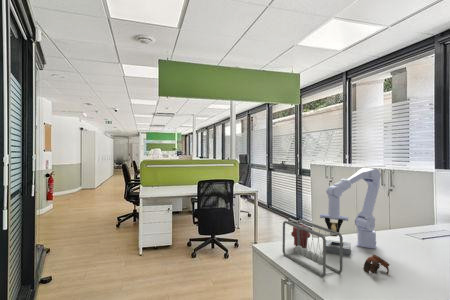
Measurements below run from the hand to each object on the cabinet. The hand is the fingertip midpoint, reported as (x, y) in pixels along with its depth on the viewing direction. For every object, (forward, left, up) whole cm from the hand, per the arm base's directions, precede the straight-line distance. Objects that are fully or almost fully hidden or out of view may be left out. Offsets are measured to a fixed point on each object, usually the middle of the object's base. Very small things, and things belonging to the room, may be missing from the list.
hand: (333, 232), depth 154 cm
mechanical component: (+16, +8, -9) cm, 20 cm away
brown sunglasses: (-19, +25, -9) cm, 33 cm away
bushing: (0, 0, -2) cm, 2 cm away
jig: (-2, +3, -9) cm, 9 cm away
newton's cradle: (+9, +28, -9) cm, 31 cm away
